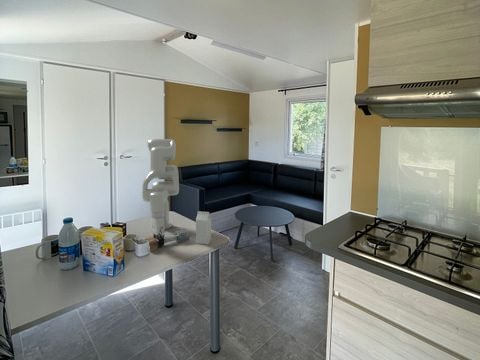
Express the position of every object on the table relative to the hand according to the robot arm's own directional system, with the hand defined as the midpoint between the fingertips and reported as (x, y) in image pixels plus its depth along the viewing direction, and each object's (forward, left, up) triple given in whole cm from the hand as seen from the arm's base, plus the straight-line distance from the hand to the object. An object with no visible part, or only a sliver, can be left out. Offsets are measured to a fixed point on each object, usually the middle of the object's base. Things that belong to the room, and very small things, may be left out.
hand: (158, 242), depth 160 cm
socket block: (0, -4, -2) cm, 5 cm away
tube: (0, +3, -2) cm, 4 cm away
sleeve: (0, +14, -2) cm, 15 cm away
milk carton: (+9, +24, -2) cm, 26 cm away
